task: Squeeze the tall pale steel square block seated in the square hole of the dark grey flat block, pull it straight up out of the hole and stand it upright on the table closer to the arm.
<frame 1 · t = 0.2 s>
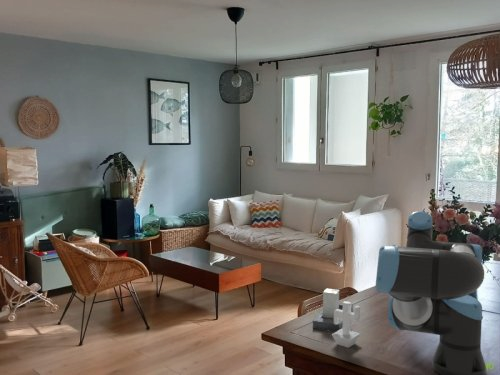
hand: (421, 288, 183), 16 cm above the table, tool tilted 35°, fingers open, 13 cm apart
coffeepot: (413, 308, 208), on the table
figurine: (345, 344, 172), on the table
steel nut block: (330, 324, 190), resting in dark grey flat block
dark grey flat block: (333, 319, 195), on the table
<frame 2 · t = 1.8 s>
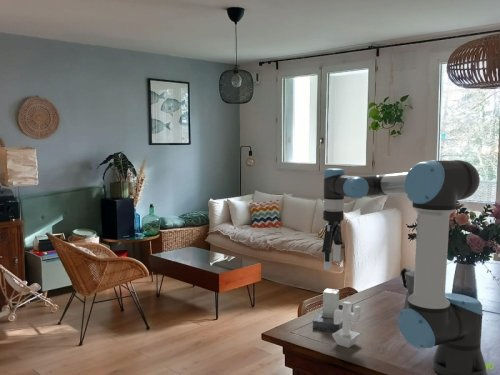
hand: (332, 265, 188), 23 cm above the table, tool pointing down, fingers open, 13 cm apart
nothing on the table moved.
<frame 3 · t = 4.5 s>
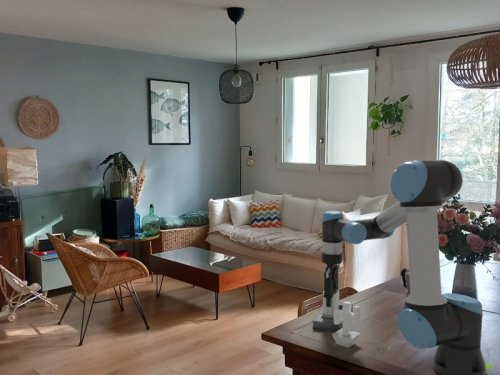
hand: (330, 311, 190), 5 cm above the table, tool pointing down, fingers closed on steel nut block, 5 cm apart
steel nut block: (330, 323, 190), resting in dark grey flat block, touching gripper
everything else where it was.
when the fingers open (6 cm above the table, at t = 12.1 s): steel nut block drops 1 cm, on the table.
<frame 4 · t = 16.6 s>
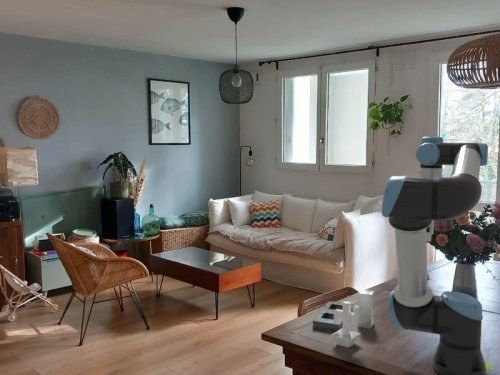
hand: (428, 237, 182), 35 cm above the table, tool pointing down, fingers open, 13 cm apart
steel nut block: (365, 325, 189), on the table
everything else where it was.
at the end: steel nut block inside the target area (0.0 cm from its centre), on the table; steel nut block tilted 0°; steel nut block touching table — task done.
